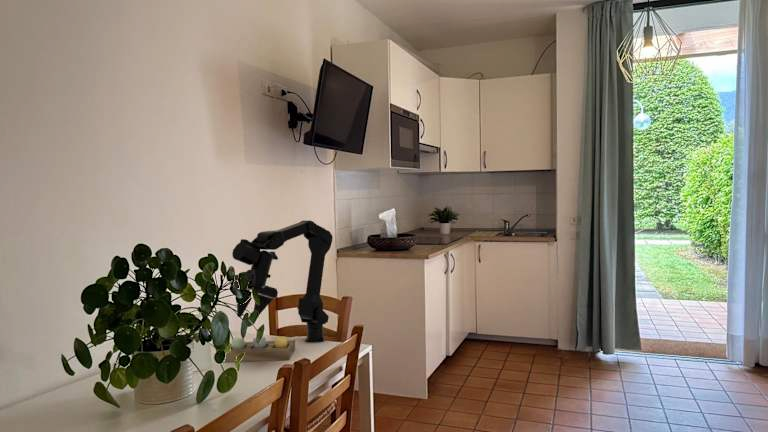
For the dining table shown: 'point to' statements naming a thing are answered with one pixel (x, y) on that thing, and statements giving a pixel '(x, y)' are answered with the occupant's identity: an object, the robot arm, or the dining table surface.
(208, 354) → the cup
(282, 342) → the button amber
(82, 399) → the dining table surface
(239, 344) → the button sage
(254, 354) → the brown button tray
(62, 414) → the dining table surface
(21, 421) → the dining table surface
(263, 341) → the button slate
